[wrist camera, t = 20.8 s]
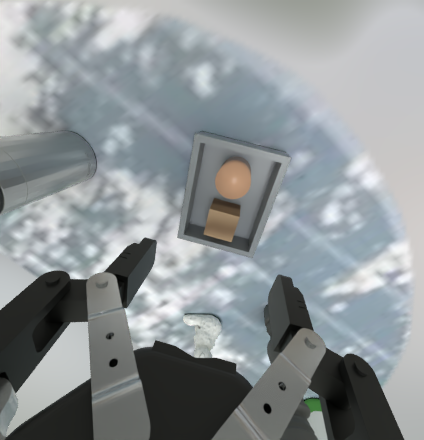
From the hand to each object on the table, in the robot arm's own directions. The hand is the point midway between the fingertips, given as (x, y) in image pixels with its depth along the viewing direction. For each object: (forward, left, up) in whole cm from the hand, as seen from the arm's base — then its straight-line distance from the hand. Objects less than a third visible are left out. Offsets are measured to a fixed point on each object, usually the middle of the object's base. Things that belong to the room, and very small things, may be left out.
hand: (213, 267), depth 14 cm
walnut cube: (0, -8, -26) cm, 27 cm away
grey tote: (0, -4, -26) cm, 26 cm away
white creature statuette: (+3, -39, -26) cm, 47 cm away
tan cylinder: (0, 0, -25) cm, 25 cm away
